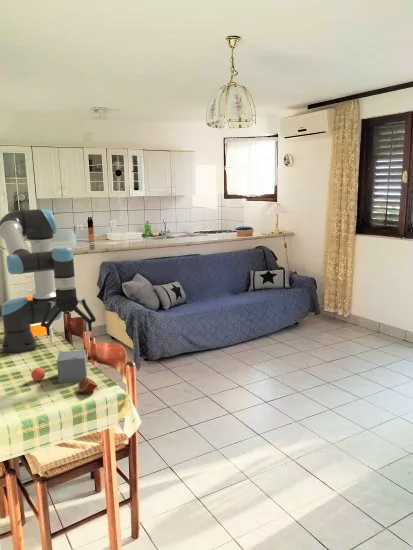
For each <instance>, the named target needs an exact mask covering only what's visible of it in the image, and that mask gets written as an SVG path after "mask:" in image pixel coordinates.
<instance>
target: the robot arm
mask: <svg viewBox="0 0 413 550" xmlns="http://www.w3.org/2000/svg"><path fill="white" fill-rule="evenodd" d="M55 234H57V223H56V220H55V217H54V214H53V212H52V211H51V210H50V209H46V208H37V209H25V210H23V209H21V210H20V209H19V210H18V209H17V210H11V211H10V212H7V214H5V215H4V216H3V217H1V219H0V238H2V240H4V243H5V244H4V245H5V247H6V249H7V252H8V255H7V256H6V268H7V271H8V273H9V274H10V275H22V274H29V273H30V274H31V273H33V281H34V293H32V295H31V296H32V300H28V299H27V298H28V297H25V296H24V297H16V298H12V299H9V300H7V301H5V302H4V303H2V305H1V316H2V324H3V333H4V334H3V339H2V343H1V351H2V352H3V353H5V354H6V353H7V354H17V353H23V352H28V351H30V350H34V348H36V347H37V339H36V337H34V336H33V334H32V332H31V327H30V325H31V324H38V323H41V327H46V331H47V334H46V336H49V339H50V345H54V333H53V326H52V324H53V322H56V321H58V320H60V319H61V317H62V314H64V313H67V312H68V313H72V312H74V313H76V314H77V315H79V317H80V318H82V319H83V320H84V322H85V327H86V328H85V329H86V337H87V342H88V341H90V332H92V331H93V327H92V326H93V325H92V323H95V322H96V320H97V319H96V317H95V315H94V314H93V312H92V311H91V309H90V307H89V306H88V304H87V302H86V298H85V297H84V298H81V299H79V298H77V287H76V284H77V283H76V275H75V263H74V257H75V256H74V253H73V249H72V248H71V247H70V246H59V247H58V246H57V247H54V248H52V247H51V242H52V240H53V239H54V235H55ZM25 237H26V240H27V241H28V242H29V243H30V248H31V249H29V247H28V244H27V242H26V240H25ZM79 304H80V306H83V308H84V310H85V311H86V313H87V315H88V316H87V315H86V314H85V313H84V312H83V311H82V310H81V309H80V308H79V307H78V305H79ZM45 322H46V323H45Z"/></svg>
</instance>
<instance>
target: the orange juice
mask: <svg viewBox="0 0 413 550" xmlns="http://www.w3.org/2000/svg"><path fill="white" fill-rule="evenodd" d="M26 298H27V299H28V300H32V295H28V296H27V297H26ZM45 323H47V322H45ZM30 327H31V332H32V334H33V336H34V338H36V337H35V336H37V337H39V336H38V335H41V334H44V333H47V331H46V327H41V323H38V324H31V325H30ZM44 335H45V334H44ZM41 336H42V335H41Z"/></svg>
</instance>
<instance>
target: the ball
mask: <svg viewBox="0 0 413 550" xmlns="http://www.w3.org/2000/svg"><path fill="white" fill-rule="evenodd" d="M30 373H31V374H30V375H31V379H32V380H34V381H35V382H39V381H42V380H43V379H44V378H45V377H46V372H45V370H44V369H43V368H42V367H36V368H34V369H33V370H32V371H31V372H30Z"/></svg>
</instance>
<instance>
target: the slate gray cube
mask: <svg viewBox="0 0 413 550" xmlns="http://www.w3.org/2000/svg"><path fill="white" fill-rule="evenodd" d="M86 353H87V352H86V349H78V350H68V351H59V352H58V356H57V360H56V366H57V368H56V369H57V377H58V384H62V383H71V382H79V381H80V379H81V378H82V376H85V377H87V378H88V375H87V374H88V366H87V354H86Z"/></svg>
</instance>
